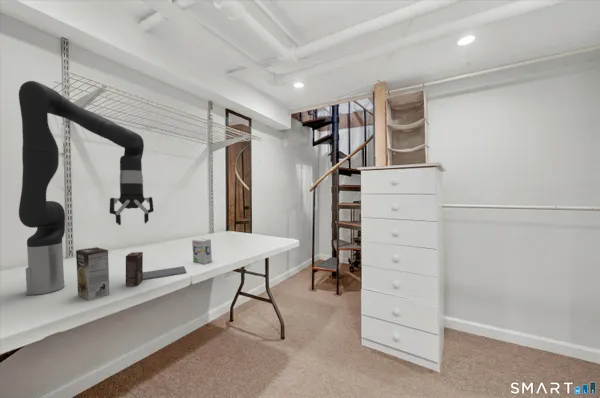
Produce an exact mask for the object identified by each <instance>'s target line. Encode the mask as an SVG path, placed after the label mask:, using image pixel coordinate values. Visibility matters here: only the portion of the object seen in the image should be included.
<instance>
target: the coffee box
mask: <svg viewBox="0 0 600 398" xmlns="http://www.w3.org/2000/svg"><path fill="white" fill-rule="evenodd" d="M75 258H76V260H75V261H76V277H77V278H76V279H77V295H78V296H80V297H81V298H83V299H85V300H86V301H93V300H95V299H98V298H99V299H100V298H101V297H104V296H109V295H110V269H109V264H110V263H109V249H105V248H100V247H91V248H82V249H77V250H75Z"/></svg>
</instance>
